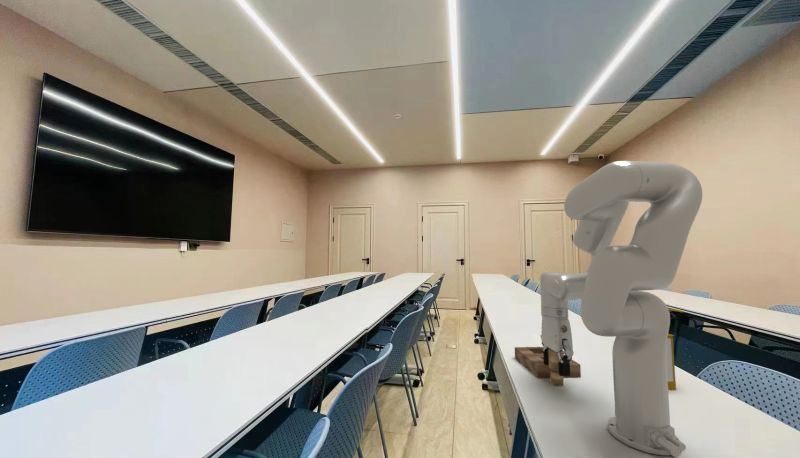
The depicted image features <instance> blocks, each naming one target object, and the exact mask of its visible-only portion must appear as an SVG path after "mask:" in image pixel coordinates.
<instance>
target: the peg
mask: <svg viewBox="0 0 800 458" xmlns="http://www.w3.org/2000/svg"><path fill="white" fill-rule="evenodd" d="M560 351H564V350H560ZM548 354H549V370H550V378H549V379H550V384H552V385H553V386H557V387H563V386H564V383H565V382H564V380H565V378H563V376H560V375H559V368H558V362H560V360H559V357H558V354H557V352H555V351H553V350H552V349H550V348H549V349H548ZM564 355H565V354H562V357H563V356H564Z"/></svg>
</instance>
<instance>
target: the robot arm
mask: <svg viewBox="0 0 800 458" xmlns="http://www.w3.org/2000/svg"><path fill="white" fill-rule="evenodd" d="M702 200H703V188H702V185H701V182H700V180H699V179H698V177H697V176H696V175H695V174H694V173H693V172H692V171H691V170H689V169H687V168H685V167H684V166H681V165H677V164H673V163H668V162H661V161H660V162H658V161H637V160H617V161H613V162H610V163H608V164H606V165H604V166H602V167H601V168H599V169H597V170H596V171H595V172H594V173H591V174H590V175H589V176H588V177H586V178H585V179H583V180H582V181H580V182H579V183H578V184H576V185H575V186H574V187H573V188H571V190H570V191H569V192H568V194H567V196H566V197H565V200H564V205H563V208H564V213H565V215H566V216H567V217H568V218H569V219H571V220H573V221H575V220H577V221H579V222H578V224H577V227H576V229H575V231H574V234H573V236H572V243H573V245H574V246H575V247H576V248H578V249H579V250H581V251H582V252H584V253H587V254H589V255H590V257H591V261H590V263H589V265H588V268H587V271H586V272H585V273H584V272H579V273H578V272H577V273H564V272H560V271H559V272H558V271H545V272H542V273H541V274H540V277H539V279H540V280H539V281H540V282H539V283H540V285H539V286H540V287H539V288H540V312H541V314H540V315H541V334H540V339H541V340H540V341H541V344H542V347H543V351H545V352H543V356H544V364H545V365H549V354H548V349H549V348H550V349H552V350H553V351H555V352H557V354H558V357H559V360H560V362H558V368H559V375H560V376H570V363H571V359H572V360H573V356H574V353H575V352H574V348H573V347H574V346H573V345H574V344H573V336H572V329H571V323H570V320H569V301H578V300H580V301H581V302H580V303H581V304H580V318H581V321H582V323H583V325H584V326H585V328H586V329H587V330H588V331H589V332H590V333H592V334H594V335H596V336H599V337H611V338H612V337H615V338H614V341H613V346H612V374H613V375H612V376H613V377H612V379H613V397H614V398H613V399H614V416H613V417H611V418H609V419H608V420H607V422H606V423H607V430H608V431H609V433H610V434H611V435H612V436H613V437H614V438H615V439H617V440H618V441H620V442H621V443H623V444H625V445H627V446H630V447H631V448H634V449H635V450H638V451H642V452H644V453H648V454H651V455H658V456H673V457H675V458H677V457H679V456H680V454H681V452H682V451H685V450H686V444H685V443H683V442H682V441H681V440H680V438H679V437H678V436H677V435H676V434H675V433H676V431H675V427H673V426H671V416H670V400H669V390H668V379H667V356H666V346H667V337H668V334H669V331H670V326H671V314H670V310H668V309H669V308H668V306H667V304H666V303H665V301H664V300H663V299H662V298H660V297H659V296H657V295H656V294H654V293H651V292H649V291H656V290H662V289H665V288H668V287H669V286H671V284H672V283H673V282H674V279H675V277H676V274H677V272H678V268H679V266H680V262H681V259H682V256H683V253H684V250H685V247H686V244H687V240H688V237H689V234H690V231H691V229H692V226H693V224H694V221H695V219H696V217H697V215H698V212H699V211H700V207H701V204H702V202H703V201H702ZM629 202H635V203H636V202H637V203H638V202H640V203H642V202H643V203H645V202H646V203H649V204H650V206H649V208H647V209H646V210H645V211H644V212H643V214H642V215H641V216H640V217H639V219H638V221H637V222H636V225H635V227H634V232H633V235H632V237H631V240H630V242H629V244H627V245H612V246H611V244H612V242H613V239H614V237H615V236H616V233H617V232H618V228H619V227H620V225H621V222H622V220H623V219H624V215H626V211H627V209H628V207H629ZM560 350H563V351H560ZM562 354H564V356H563V357H562Z"/></svg>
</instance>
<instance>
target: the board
mask: <svg viewBox="0 0 800 458" xmlns="http://www.w3.org/2000/svg"><path fill="white" fill-rule="evenodd" d="M543 352H545V351H543V346H515V347H514V359H516V360H517V361H518V362H519V363H520V364H521V365H522V366H523V367H524V368H526V370H528V371H529V372H530V373H532V374H533V376H535V377H536V378H537V379H550V370H549V365H545V364H544V356H543ZM581 371H582V369H581V364H580V363H579V362H577V361H575V360H573V358H572V359H571V363H570V376H563V378H564V379H565V378H566V379H567V378H575V379H576V378H581V376H582V374H581Z"/></svg>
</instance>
